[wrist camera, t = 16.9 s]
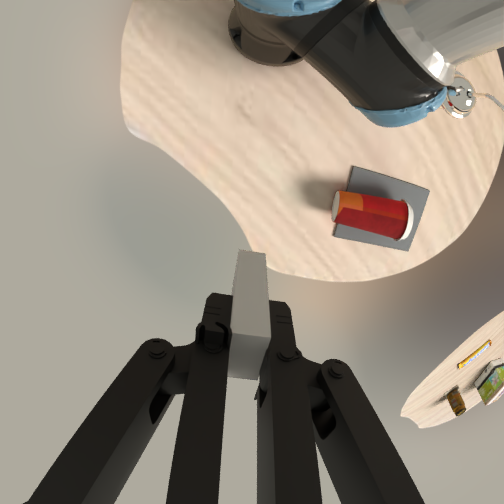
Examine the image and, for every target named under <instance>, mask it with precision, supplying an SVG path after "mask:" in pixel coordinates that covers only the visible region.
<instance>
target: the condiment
mask: <svg viewBox="0 0 504 504" xmlns="http://www.w3.org/2000/svg"><path fill="white" fill-rule="evenodd" d="M459 391H460V390H459V387H458V385H457V386H455V387H454V388H452V389H451V390H449V391H448V392H449V393H448V392H446V393H445V394H444V395H445V397H446V399H448V401H449V403H450V406H451V408H452V410H453V412H455V415H456V416H459V415H461V414H463V413H464V412H465V411H466V408H465V406H464V405H465V404H464V401H463V399H462V397H461V395H460V393H459Z"/></svg>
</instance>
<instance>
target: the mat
mask: <svg viewBox="0 0 504 504" xmlns="http://www.w3.org/2000/svg"><path fill="white" fill-rule="evenodd" d="M347 192H352V193H359V194H365V195H371V196H377V197H382V198H388V199H393V200H398V201H400V200H401V199H404V200H406V202H408V203H409V205H410V206H411V207H412V209H413V216H414V217H413V225H412V229H411V231H410V233H409V235H408V237H407V238H405V239H401V240H399V241H395V240H394V239H393V238H390V237H386V236H383V235H379V234H376V233H372V232H368V231H364V230H361V229H357V228H353V227H350V226H346V225H342V224H337V227H336V230H335V234H334V237H337V238H342V239H348V240H353V241H358V242H363V243H368V244H373V245H379V246H383V247H388V248H393V249H398V250H403V251H409V248H410V246H411V243H412V240H413V238H414V235H415V233H416V230H417V227H418V224H419V222H420V219H421V216H422V213H423V210H424V207H425V204H426V201H427V198H428V195H429V192H430V191H429V190H427V189H424V188H421V187H418V186H416V185H413V184H410V183H407V182H404V181H401V180H398V179H395V178H392V177H388V176H385V175H382V174H379V173H375V172H372V171H368V170H365V169H361V168H358V167H354V166H353V170H352V174H351V178H350V181H349V185H348V189H347Z"/></svg>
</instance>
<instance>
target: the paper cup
mask: <svg viewBox="0 0 504 504" xmlns="http://www.w3.org/2000/svg"><path fill="white" fill-rule="evenodd" d="M413 217H414V216H413V209H412V207H411V206H410V205H409V203H408V202H406V200H404V199H401V200H400V201H398V200H393V199H388V198H382V197H377V196H371V195H365V194H359V193H352V192H345V191H337V192H336V194H335V197H334V201H333V206H332V221H333V222H335V223H338V224H342V225H346V226H350V227H353V228H357V229H361V230H364V231H368V232H372V233H376V234H379V235H383V236H386V237H390V238H393V239H394V240H395V241H399V240H401V239H405V238H407V237H408V235H409V233H410V231H411V229H412V225H413Z"/></svg>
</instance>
